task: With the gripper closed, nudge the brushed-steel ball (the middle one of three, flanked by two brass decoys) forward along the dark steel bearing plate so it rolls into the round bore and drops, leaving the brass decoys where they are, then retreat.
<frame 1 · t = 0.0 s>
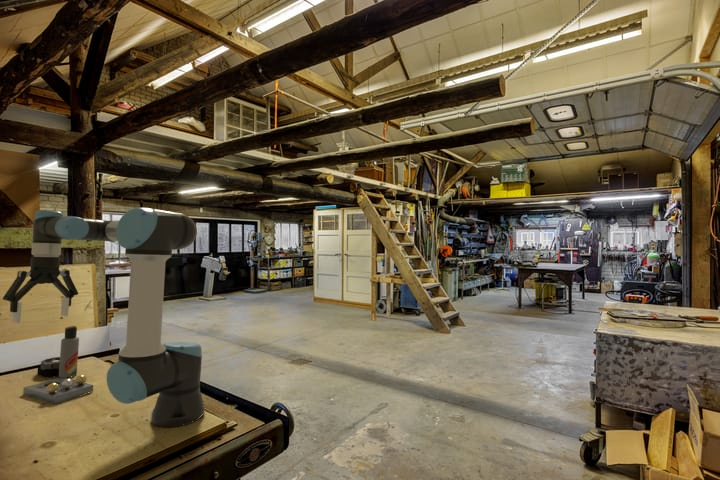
hand: (41, 319, 121), 28 cm above the table, fingers open, 13 cm apart
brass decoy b: (52, 387, 123), point 4 cm above the table, touching bearing plate
lotion bottle: (67, 376, 145), on the table
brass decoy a: (81, 379, 131), point 4 cm above the table, touching bearing plate
steel ball: (67, 383, 127), point 4 cm above the table, touching bearing plate
bearing plate: (58, 393, 128), on the table
cpu cooler: (55, 374, 148), on the table
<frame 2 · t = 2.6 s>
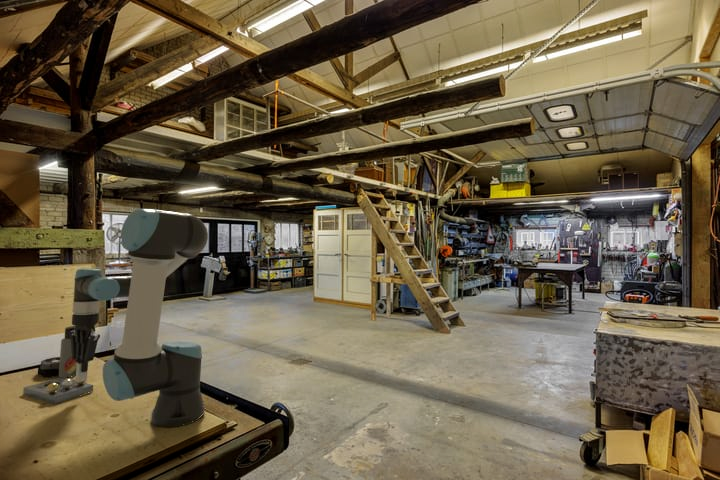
hand: (81, 380, 124), 6 cm above the table, fingers closed
nothing on the table moved.
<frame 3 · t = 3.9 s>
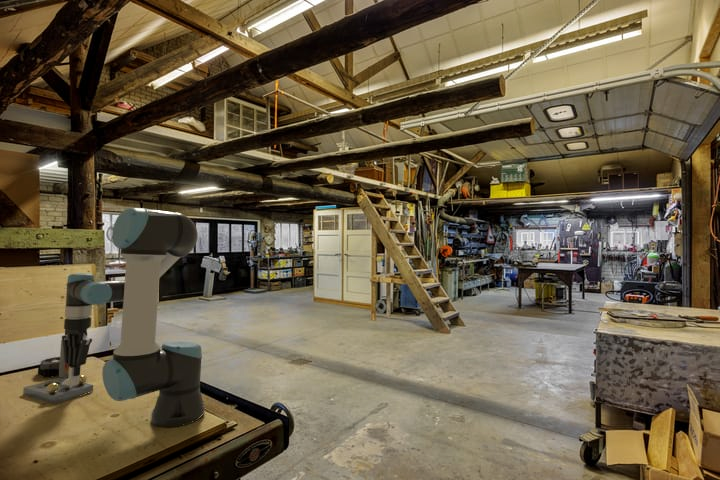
hand: (73, 384, 126), 4 cm above the table, fingers closed
nothing on the table moved.
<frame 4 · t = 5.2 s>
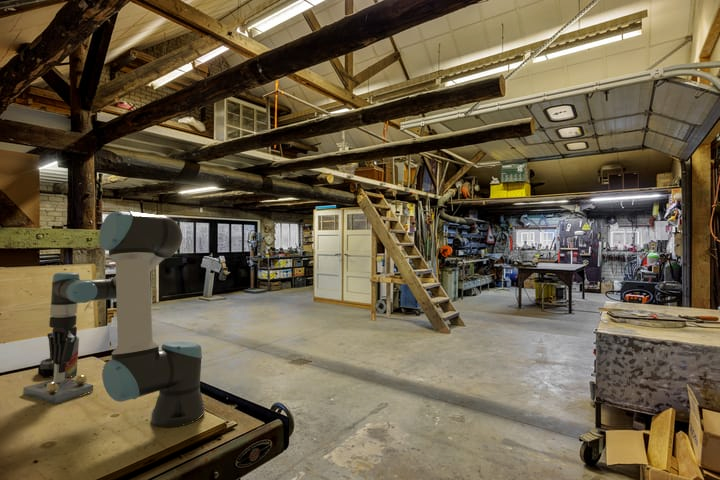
hand: (58, 381, 129), 4 cm above the table, fingers closed
steel ball: (51, 386, 130), point 2 cm above the table, tilted 11°
everything else where it was.
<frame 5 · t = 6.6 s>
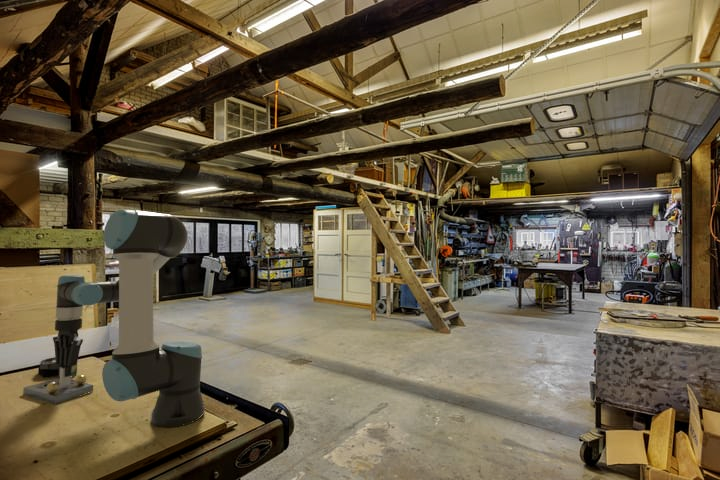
hand: (64, 385, 127), 3 cm above the table, fingers closed
steel ball: (52, 386, 130), point 2 cm above the table, tilted 30°
everything else where it was.
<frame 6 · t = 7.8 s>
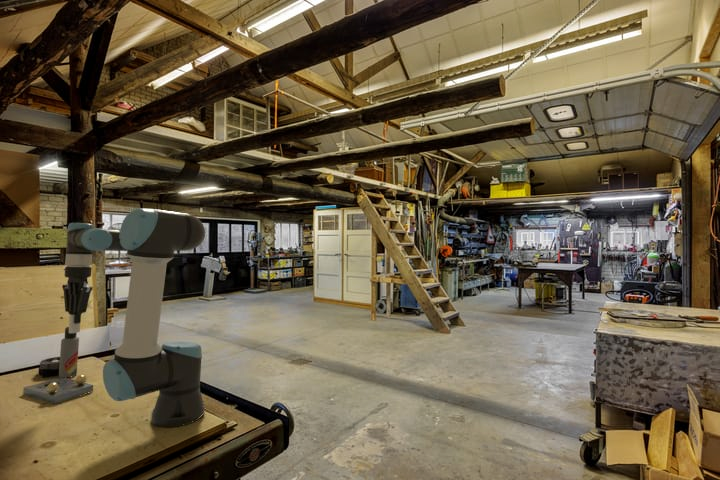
hand: (74, 332, 127), 22 cm above the table, fingers closed
steel ball: (52, 387, 130), point 2 cm above the table, tilted 47°
everything else where it was.
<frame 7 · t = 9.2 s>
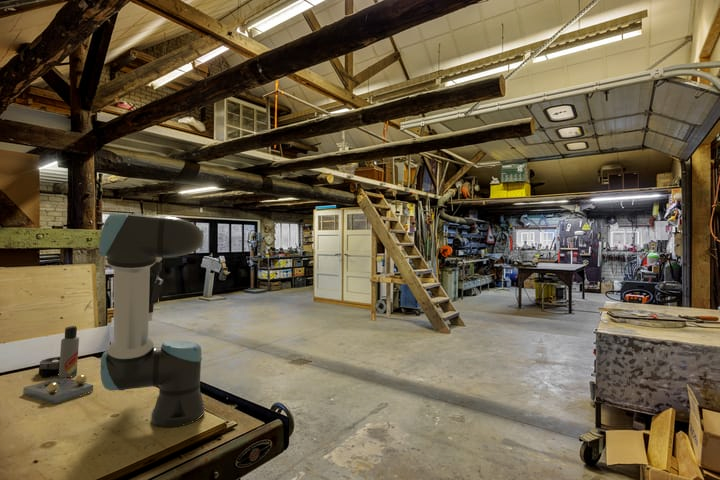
hand: (147, 320, 142), 24 cm above the table, fingers closed
nothing on the table moved.
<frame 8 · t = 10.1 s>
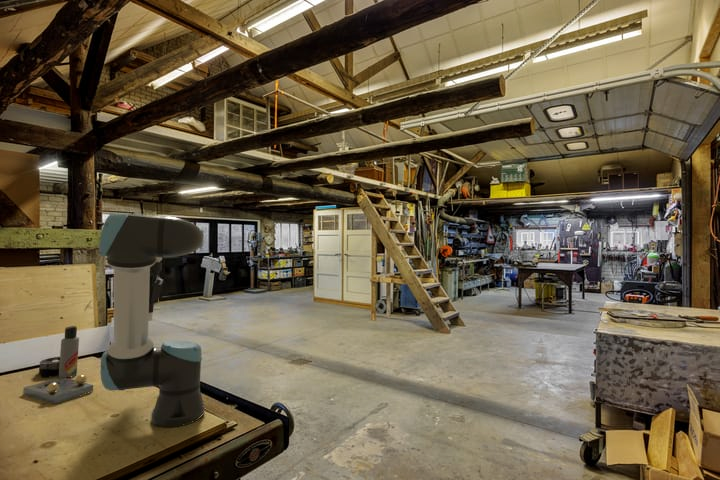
hand: (147, 320, 142), 24 cm above the table, fingers closed
nothing on the table moved.
at the end: steel ball 0.5 cm from the target spot in the bearing plate, point 1.6 cm above the bearing plate's base; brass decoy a moved 0.0 cm from its start; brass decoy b moved 0.0 cm from its start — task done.
